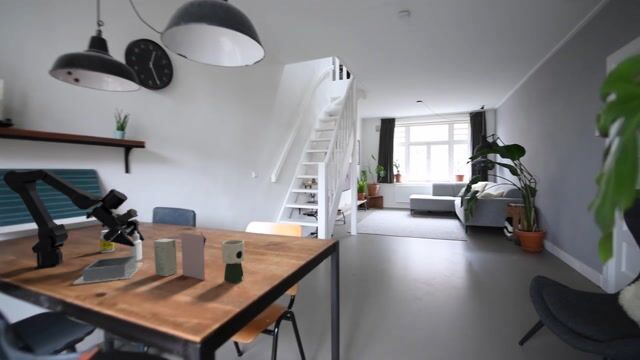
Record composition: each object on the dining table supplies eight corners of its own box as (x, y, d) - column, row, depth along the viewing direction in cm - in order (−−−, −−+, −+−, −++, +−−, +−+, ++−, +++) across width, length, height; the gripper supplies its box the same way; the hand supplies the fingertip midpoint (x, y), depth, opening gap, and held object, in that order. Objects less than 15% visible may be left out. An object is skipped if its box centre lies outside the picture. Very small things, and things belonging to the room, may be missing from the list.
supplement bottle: (113, 249, 136) (112, 229, 136) (115, 251, 132) (114, 230, 132) (99, 251, 132) (98, 230, 132) (101, 253, 128) (100, 232, 128)
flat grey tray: (72, 284, 93) (72, 272, 93) (94, 268, 108) (94, 258, 108) (129, 278, 98) (129, 266, 98) (142, 264, 113) (142, 253, 113)
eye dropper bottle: (146, 258, 120) (145, 230, 120) (134, 262, 115) (133, 233, 115) (138, 257, 122) (138, 229, 121) (126, 261, 116) (125, 232, 116)
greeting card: (207, 279, 96) (206, 235, 96) (182, 283, 93) (181, 238, 92) (204, 269, 106) (203, 229, 106) (182, 272, 103) (181, 231, 103)
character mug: (236, 287, 89) (236, 246, 89) (215, 286, 90) (214, 246, 90) (250, 275, 100) (249, 238, 99) (231, 274, 101) (230, 237, 100)
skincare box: (177, 273, 103) (176, 239, 102) (166, 277, 99) (165, 242, 98) (165, 270, 105) (164, 237, 105) (154, 274, 102) (153, 240, 101)
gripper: (111, 206, 108) (144, 233, 110) (133, 201, 126) (161, 224, 128) (88, 228, 106) (122, 255, 109) (114, 219, 125) (142, 243, 127)
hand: (138, 243), depth 118 cm, fingers open, 9 cm apart
